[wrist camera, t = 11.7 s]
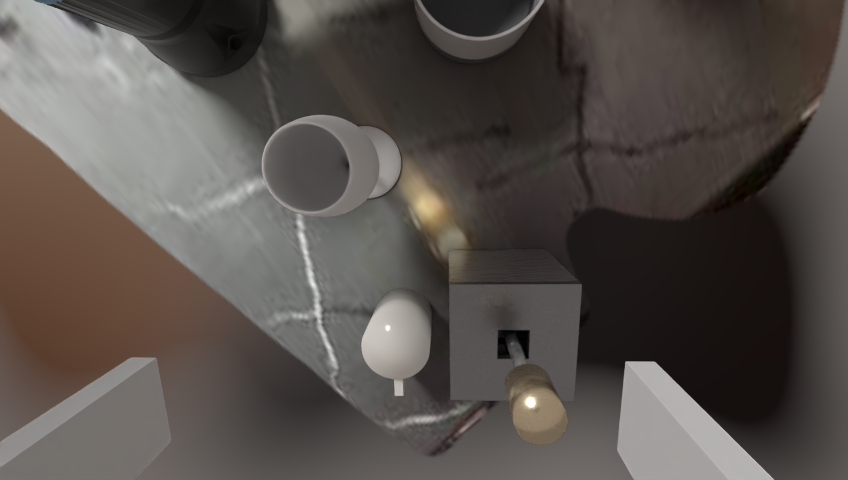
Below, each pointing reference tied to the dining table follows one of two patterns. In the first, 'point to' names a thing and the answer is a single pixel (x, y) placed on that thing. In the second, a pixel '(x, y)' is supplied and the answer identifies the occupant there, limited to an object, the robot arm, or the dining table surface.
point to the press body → (510, 319)
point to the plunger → (532, 396)
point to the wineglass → (328, 165)
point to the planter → (474, 26)
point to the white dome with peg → (398, 336)
